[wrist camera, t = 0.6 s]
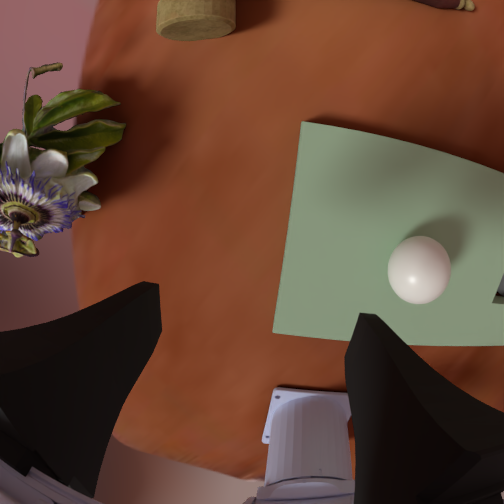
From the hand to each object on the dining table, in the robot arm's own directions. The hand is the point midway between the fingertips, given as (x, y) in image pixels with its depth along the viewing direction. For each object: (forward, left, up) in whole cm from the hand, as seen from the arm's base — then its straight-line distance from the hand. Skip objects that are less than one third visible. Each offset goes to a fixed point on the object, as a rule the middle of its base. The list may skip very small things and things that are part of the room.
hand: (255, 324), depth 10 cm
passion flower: (+4, +16, -11) cm, 20 cm away
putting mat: (0, -14, -10) cm, 17 cm away
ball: (0, -9, -7) cm, 11 cm away
